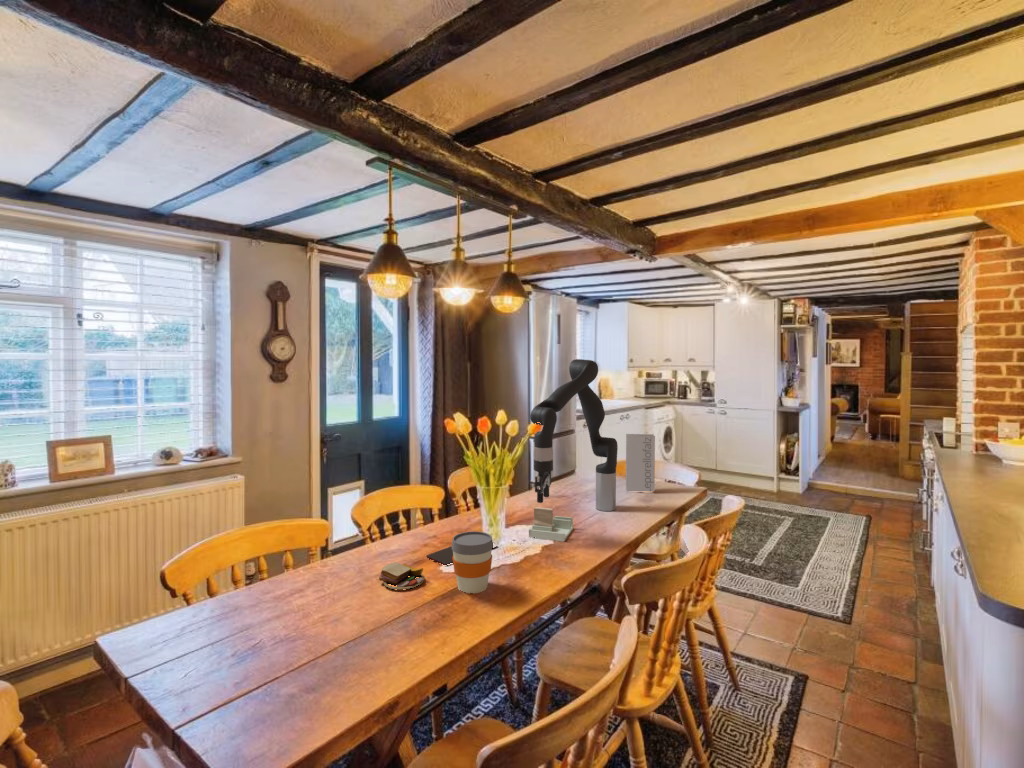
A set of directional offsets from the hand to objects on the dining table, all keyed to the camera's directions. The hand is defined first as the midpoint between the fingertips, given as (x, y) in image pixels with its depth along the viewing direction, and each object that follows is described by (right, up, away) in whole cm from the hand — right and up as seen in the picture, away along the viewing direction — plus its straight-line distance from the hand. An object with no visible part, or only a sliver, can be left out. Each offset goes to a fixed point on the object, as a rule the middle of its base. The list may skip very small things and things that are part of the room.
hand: (543, 499), depth 193 cm
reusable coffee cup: (-24, -17, -43) cm, 52 cm away
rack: (+4, -14, +5) cm, 16 cm away
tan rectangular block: (0, -14, +1) cm, 14 cm away
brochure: (+55, -12, +67) cm, 87 cm away
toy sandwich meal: (-46, -17, -39) cm, 63 cm away
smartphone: (-30, -16, -15) cm, 37 cm away
